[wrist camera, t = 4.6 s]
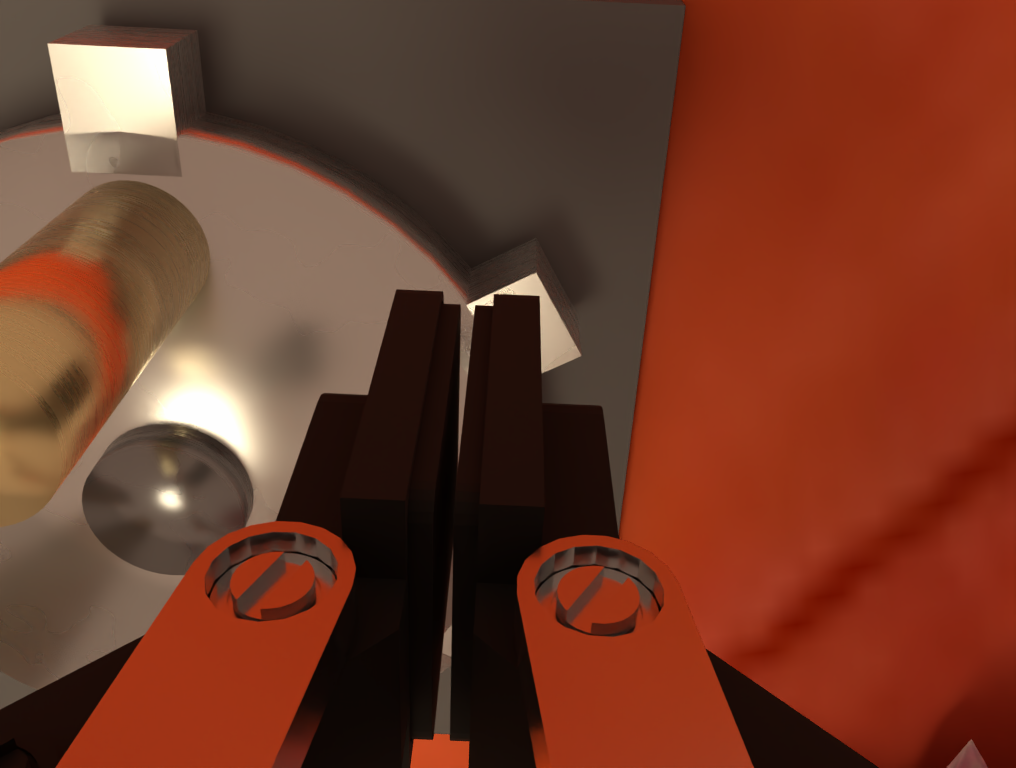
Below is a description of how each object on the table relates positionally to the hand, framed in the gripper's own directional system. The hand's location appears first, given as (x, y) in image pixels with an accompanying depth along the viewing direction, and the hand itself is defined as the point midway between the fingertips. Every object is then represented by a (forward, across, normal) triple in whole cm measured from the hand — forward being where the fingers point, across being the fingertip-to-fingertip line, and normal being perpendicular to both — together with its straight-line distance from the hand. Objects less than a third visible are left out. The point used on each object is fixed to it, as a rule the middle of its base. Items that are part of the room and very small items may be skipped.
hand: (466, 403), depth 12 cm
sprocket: (+8, +6, +6) cm, 11 cm away
